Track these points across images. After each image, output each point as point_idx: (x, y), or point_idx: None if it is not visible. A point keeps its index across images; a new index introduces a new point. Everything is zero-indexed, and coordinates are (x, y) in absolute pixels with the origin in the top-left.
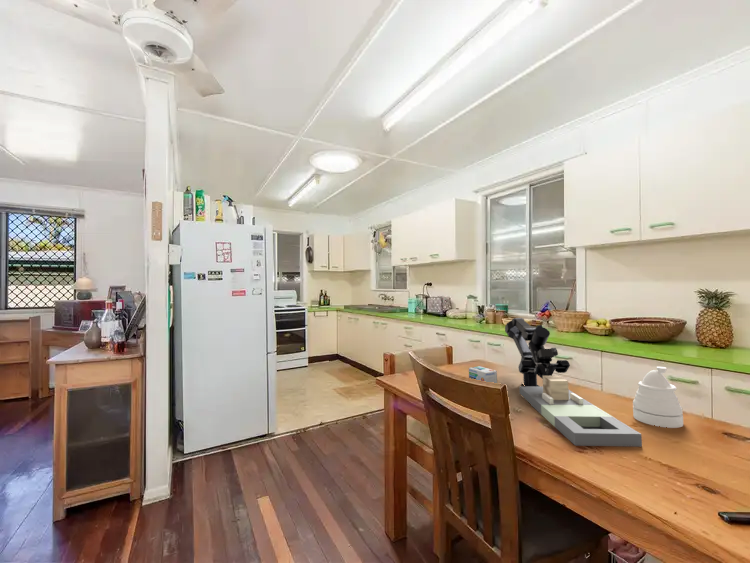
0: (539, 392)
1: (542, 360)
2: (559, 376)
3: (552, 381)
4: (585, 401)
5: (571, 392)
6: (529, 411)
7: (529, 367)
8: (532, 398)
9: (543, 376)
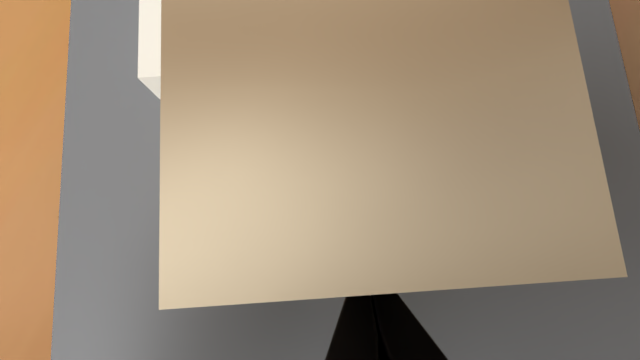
0: (501, 311)
1: None
2: (175, 194)
3: None
4: (97, 8)
5: (75, 345)
6: (616, 7)
7: None
8: (621, 93)
9: (607, 206)
